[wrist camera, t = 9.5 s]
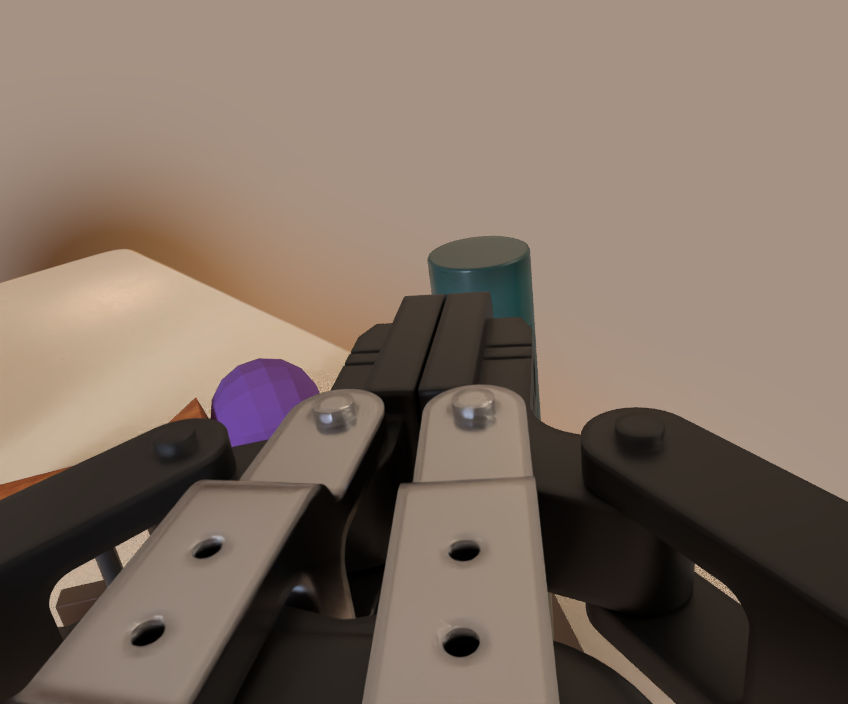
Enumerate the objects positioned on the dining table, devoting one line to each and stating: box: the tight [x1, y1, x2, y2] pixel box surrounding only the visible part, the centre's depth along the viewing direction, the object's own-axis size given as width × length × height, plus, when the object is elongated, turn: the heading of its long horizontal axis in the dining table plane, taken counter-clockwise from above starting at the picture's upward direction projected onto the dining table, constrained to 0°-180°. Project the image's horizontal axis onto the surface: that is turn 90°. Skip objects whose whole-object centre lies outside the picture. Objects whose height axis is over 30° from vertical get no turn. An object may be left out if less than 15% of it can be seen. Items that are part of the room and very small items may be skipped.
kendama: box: [0, 358, 320, 500], centre depth 39 cm, size 6×6×20 cm
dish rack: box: [56, 236, 584, 652], centre depth 22 cm, size 18×12×16 cm, turn 102°
